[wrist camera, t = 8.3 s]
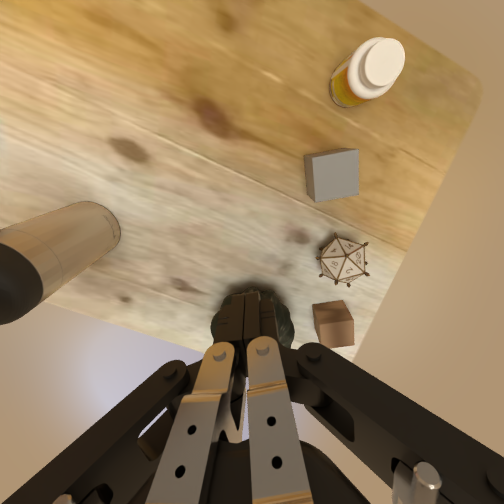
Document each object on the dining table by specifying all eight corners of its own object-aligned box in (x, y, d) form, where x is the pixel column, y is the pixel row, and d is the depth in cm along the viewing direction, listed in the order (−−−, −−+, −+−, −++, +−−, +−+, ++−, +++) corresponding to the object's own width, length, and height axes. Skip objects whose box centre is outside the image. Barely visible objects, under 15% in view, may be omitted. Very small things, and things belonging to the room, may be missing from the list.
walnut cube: (314, 327, 51) (321, 349, 46) (312, 304, 49) (319, 324, 44) (343, 323, 51) (354, 345, 45) (342, 299, 48) (353, 319, 43)
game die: (323, 235, 47) (328, 218, 37) (369, 249, 45) (387, 235, 35) (307, 279, 46) (309, 273, 36) (354, 296, 44) (368, 294, 34)
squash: (229, 372, 49) (276, 410, 37) (184, 320, 45) (220, 343, 32) (273, 320, 56) (325, 338, 43) (237, 270, 51) (284, 273, 38)
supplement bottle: (354, 114, 35) (391, 105, 26) (321, 97, 34) (345, 80, 25) (377, 71, 33) (425, 44, 24) (342, 51, 32) (378, 14, 23)
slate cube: (307, 194, 40) (315, 202, 35) (303, 155, 38) (312, 157, 32) (344, 187, 40) (358, 194, 34) (343, 148, 37) (358, 149, 32)
